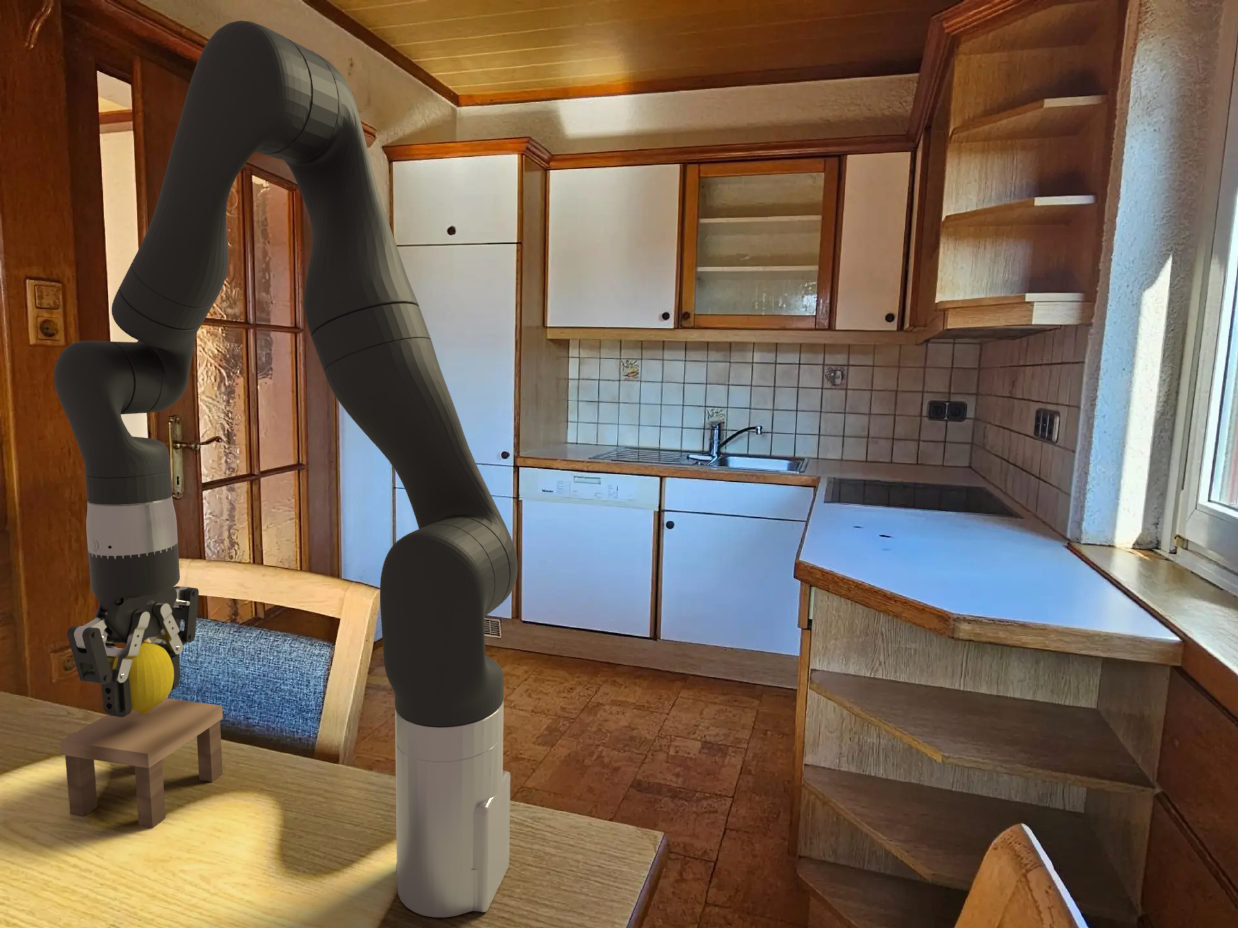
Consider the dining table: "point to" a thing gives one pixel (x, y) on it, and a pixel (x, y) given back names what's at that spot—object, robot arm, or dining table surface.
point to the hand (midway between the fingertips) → (144, 700)
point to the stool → (142, 752)
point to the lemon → (149, 677)
